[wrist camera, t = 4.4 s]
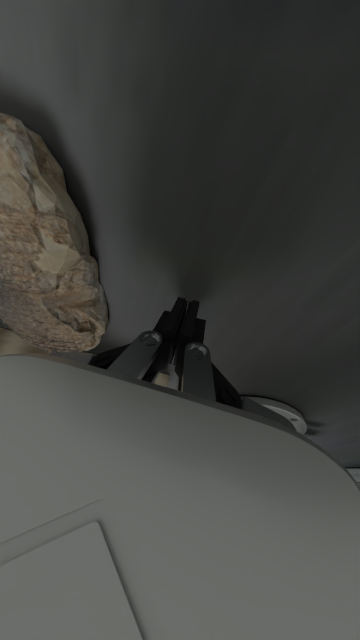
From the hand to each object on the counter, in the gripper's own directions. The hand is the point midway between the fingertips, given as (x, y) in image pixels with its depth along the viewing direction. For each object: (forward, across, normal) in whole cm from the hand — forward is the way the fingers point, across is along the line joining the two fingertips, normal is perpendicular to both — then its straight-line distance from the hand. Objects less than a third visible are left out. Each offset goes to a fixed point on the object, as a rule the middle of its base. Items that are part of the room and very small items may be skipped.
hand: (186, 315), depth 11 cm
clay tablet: (+2, +15, 0) cm, 15 cm away
